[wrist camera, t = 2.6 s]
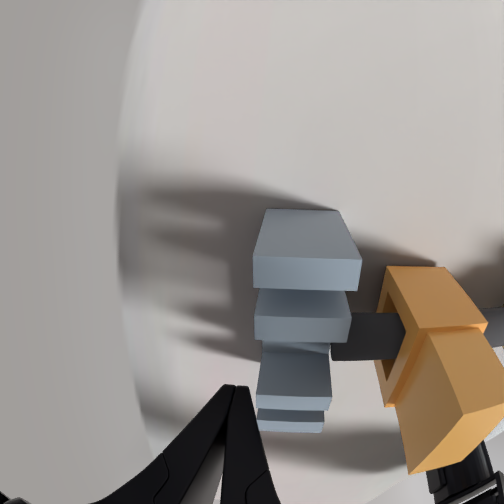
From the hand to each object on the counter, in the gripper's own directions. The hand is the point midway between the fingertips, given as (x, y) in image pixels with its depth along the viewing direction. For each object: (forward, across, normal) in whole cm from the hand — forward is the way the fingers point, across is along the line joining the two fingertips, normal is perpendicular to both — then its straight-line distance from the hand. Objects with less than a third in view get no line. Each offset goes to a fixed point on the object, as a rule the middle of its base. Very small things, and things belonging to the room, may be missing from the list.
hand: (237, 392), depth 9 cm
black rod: (+4, -11, 0) cm, 11 cm away
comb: (+6, -2, 0) cm, 6 cm away
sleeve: (+6, -8, 0) cm, 9 cm away
